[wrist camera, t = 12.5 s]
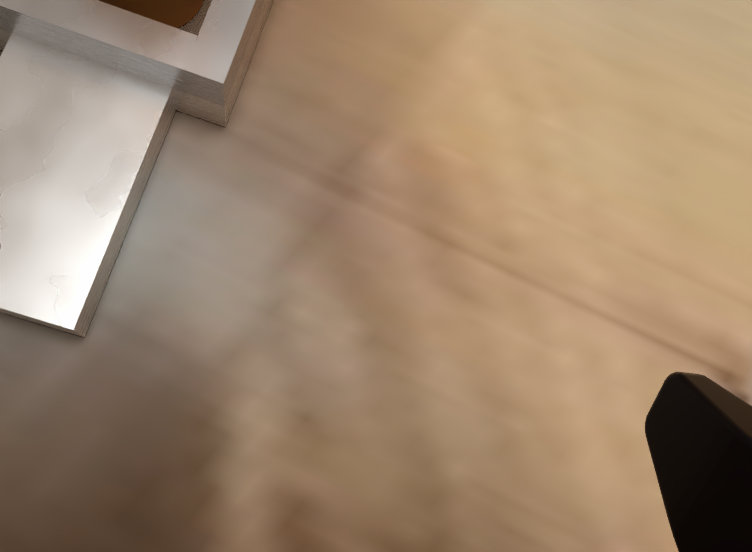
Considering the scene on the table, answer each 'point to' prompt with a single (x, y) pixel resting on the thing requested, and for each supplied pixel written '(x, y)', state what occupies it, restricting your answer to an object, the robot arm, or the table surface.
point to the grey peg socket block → (95, 135)
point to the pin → (161, 9)
